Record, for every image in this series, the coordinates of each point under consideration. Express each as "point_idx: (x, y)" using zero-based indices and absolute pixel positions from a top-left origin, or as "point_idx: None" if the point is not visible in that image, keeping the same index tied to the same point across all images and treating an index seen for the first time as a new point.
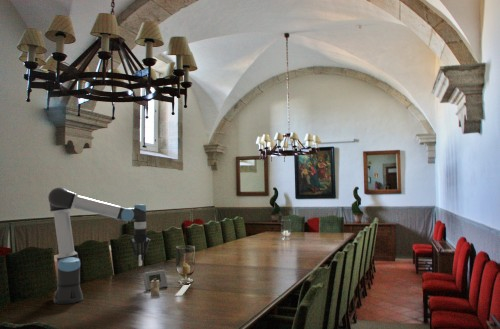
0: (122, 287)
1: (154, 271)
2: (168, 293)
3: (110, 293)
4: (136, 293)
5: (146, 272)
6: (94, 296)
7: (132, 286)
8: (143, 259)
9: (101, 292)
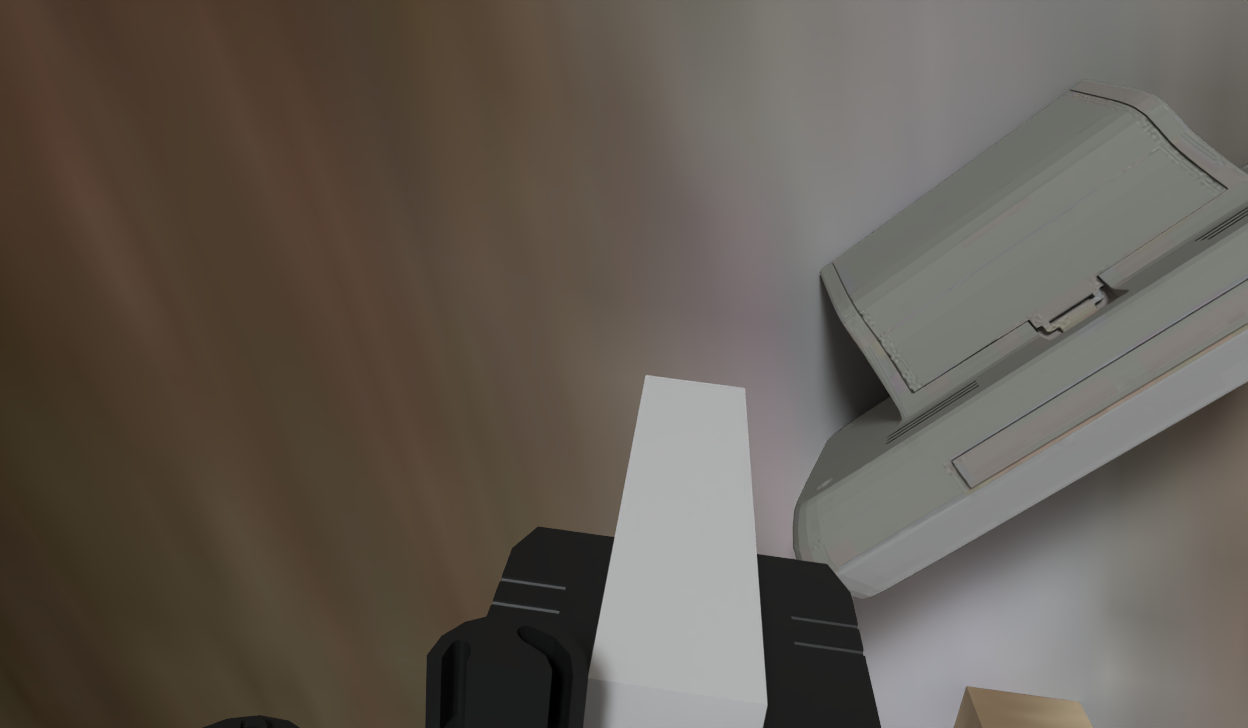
0: (287, 87)
1: (1162, 421)
2: (1240, 722)
3: (255, 546)
4: None
5: (901, 549)
6: (96, 674)
7: (480, 12)
8: (838, 600)
9: (69, 451)
